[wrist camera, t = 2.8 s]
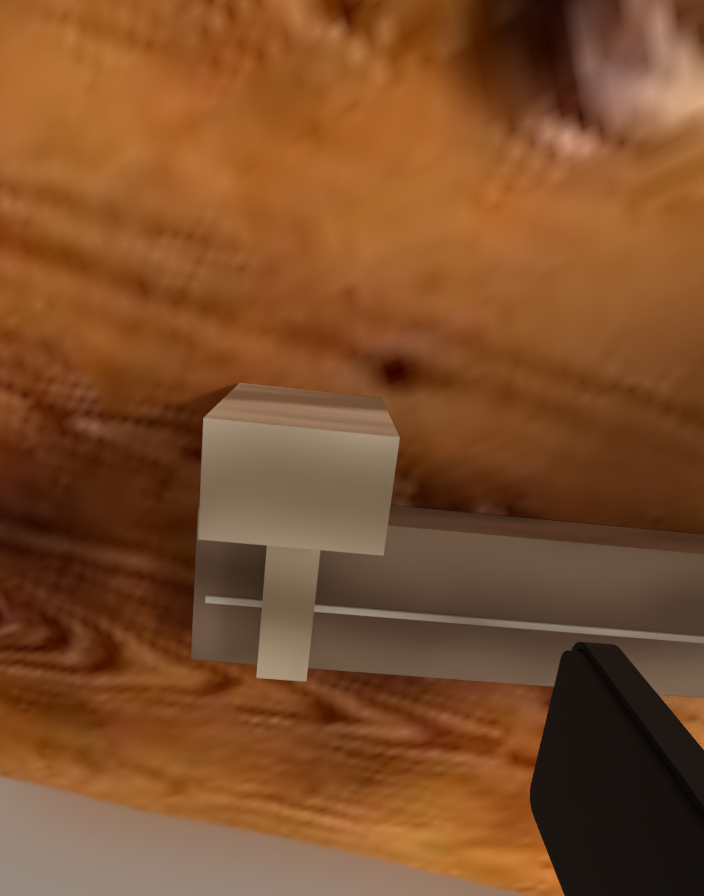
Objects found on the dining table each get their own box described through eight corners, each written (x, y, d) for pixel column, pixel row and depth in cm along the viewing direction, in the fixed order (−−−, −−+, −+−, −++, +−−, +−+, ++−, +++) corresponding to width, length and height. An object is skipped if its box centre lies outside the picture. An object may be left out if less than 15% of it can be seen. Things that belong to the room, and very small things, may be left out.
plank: (210, 488, 25) (197, 509, 22) (728, 536, 26) (768, 561, 24) (203, 627, 27) (190, 660, 24) (689, 666, 28) (722, 700, 26)
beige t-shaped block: (239, 382, 24) (203, 417, 17) (380, 397, 24) (399, 437, 17) (225, 613, 27) (189, 722, 20) (352, 623, 27) (358, 733, 20)
